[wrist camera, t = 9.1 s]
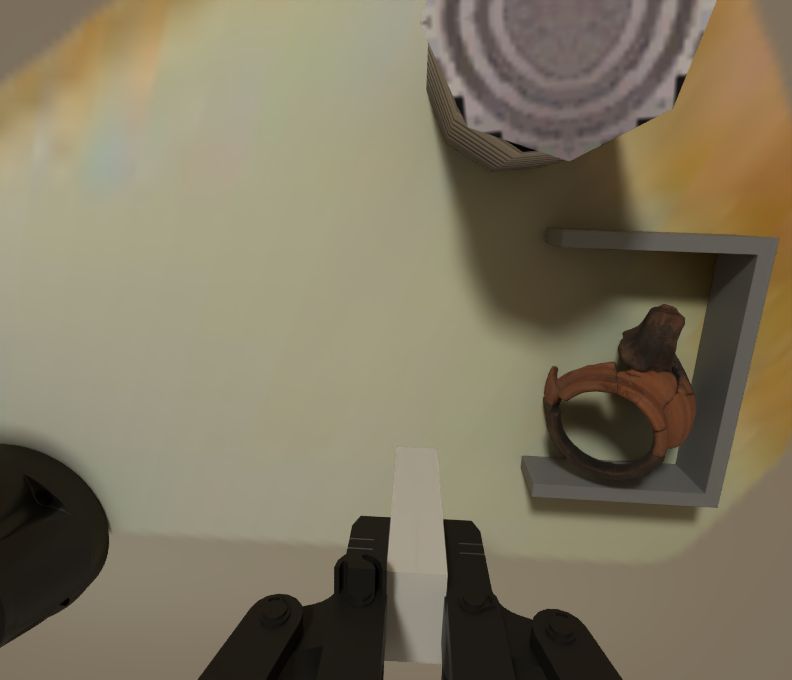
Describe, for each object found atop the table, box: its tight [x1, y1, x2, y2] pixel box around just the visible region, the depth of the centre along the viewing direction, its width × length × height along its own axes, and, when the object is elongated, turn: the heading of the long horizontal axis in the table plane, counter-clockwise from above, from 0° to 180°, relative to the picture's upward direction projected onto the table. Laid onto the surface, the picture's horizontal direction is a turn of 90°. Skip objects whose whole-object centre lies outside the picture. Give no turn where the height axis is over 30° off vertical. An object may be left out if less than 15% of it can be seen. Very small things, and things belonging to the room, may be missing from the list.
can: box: [420, 0, 717, 172], centre depth 25 cm, size 11×11×12 cm
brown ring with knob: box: [543, 304, 696, 480], centre depth 33 cm, size 12×10×8 cm
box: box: [521, 228, 779, 508], centre depth 33 cm, size 12×18×4 cm
